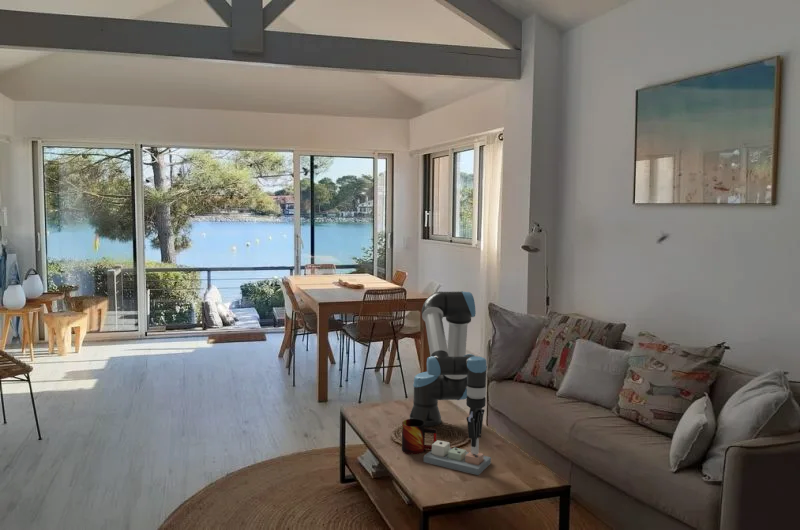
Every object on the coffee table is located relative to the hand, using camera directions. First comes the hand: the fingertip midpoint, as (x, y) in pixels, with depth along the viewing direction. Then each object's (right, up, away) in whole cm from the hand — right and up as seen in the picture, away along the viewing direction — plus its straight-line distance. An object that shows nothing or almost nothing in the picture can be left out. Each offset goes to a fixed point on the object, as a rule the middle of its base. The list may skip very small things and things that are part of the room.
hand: (474, 453), depth 258 cm
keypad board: (-7, -5, +4) cm, 9 cm away
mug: (-22, -4, +17) cm, 28 cm away
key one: (-13, -2, +8) cm, 15 cm away
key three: (0, -5, +1) cm, 5 cm away
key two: (-7, -4, +4) cm, 9 cm away
